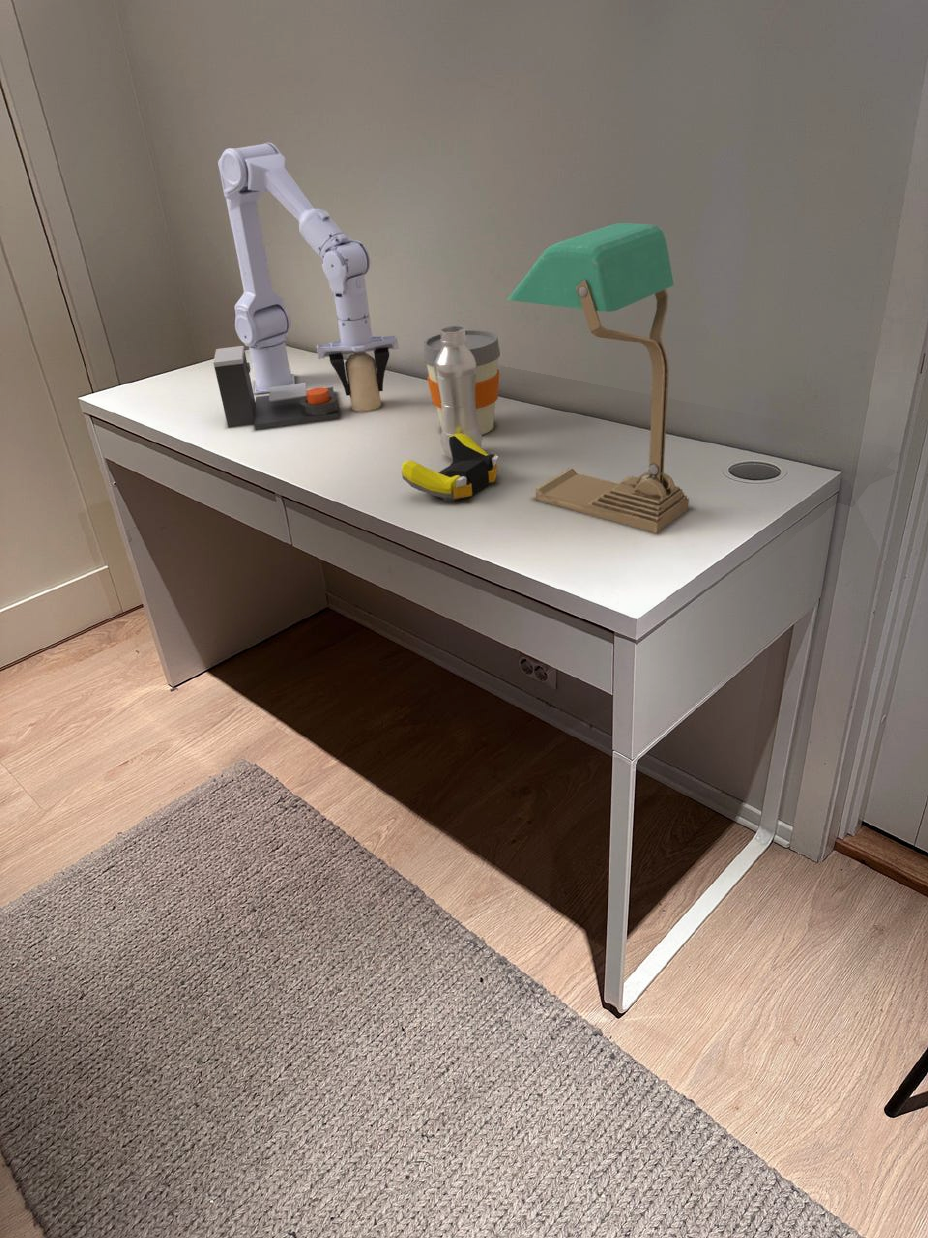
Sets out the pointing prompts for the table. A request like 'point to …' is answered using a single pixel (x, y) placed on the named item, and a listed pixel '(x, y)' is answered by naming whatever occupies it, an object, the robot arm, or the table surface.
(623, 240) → the banker's lamp
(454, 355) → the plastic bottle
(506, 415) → the table surface
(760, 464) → the table surface
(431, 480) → the gaming controller
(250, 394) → the tower
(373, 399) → the candle
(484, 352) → the reusable coffee cup
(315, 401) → the button
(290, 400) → the grey base plate
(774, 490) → the table surface
